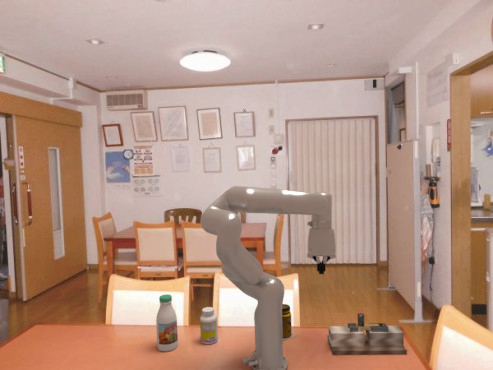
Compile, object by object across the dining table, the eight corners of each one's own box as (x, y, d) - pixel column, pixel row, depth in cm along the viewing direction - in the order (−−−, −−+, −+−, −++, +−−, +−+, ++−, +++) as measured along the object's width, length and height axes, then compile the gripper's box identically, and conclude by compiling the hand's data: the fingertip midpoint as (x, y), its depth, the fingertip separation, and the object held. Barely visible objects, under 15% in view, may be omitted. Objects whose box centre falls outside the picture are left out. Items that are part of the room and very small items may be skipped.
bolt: (357, 330, 139) (357, 315, 139) (356, 327, 142) (356, 313, 141) (379, 330, 139) (379, 315, 139) (377, 327, 141) (377, 313, 141)
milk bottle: (153, 349, 143) (150, 298, 142) (166, 340, 150) (164, 291, 149) (169, 353, 140) (166, 301, 138) (182, 344, 146) (179, 294, 145)
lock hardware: (350, 332, 139) (349, 327, 139) (347, 327, 143) (347, 323, 143) (388, 331, 138) (388, 327, 138) (384, 326, 142) (384, 322, 142)
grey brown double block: (333, 354, 135) (332, 337, 135) (327, 339, 147) (327, 322, 147) (406, 354, 134) (406, 336, 134) (395, 338, 146) (394, 322, 146)
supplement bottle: (205, 336, 153) (204, 305, 152) (220, 338, 151) (219, 306, 150) (197, 343, 147) (196, 311, 146) (213, 346, 145) (212, 313, 144)
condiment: (296, 336, 151) (295, 306, 150) (279, 342, 146) (278, 312, 145) (284, 329, 157) (283, 301, 156) (268, 335, 152) (267, 306, 152)
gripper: (301, 226, 139) (301, 275, 140) (343, 226, 137) (342, 276, 138) (300, 223, 146) (300, 270, 147) (340, 223, 145) (339, 271, 146)
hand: (321, 273), depth 143 cm, fingers closed
